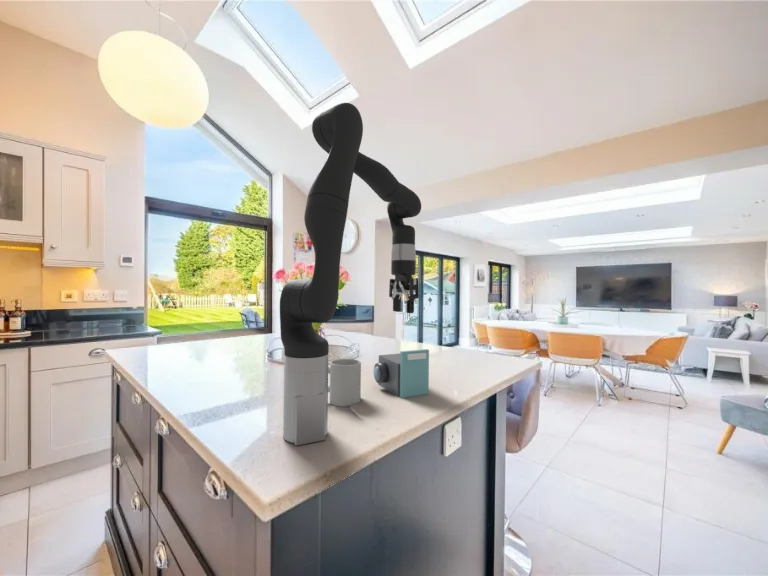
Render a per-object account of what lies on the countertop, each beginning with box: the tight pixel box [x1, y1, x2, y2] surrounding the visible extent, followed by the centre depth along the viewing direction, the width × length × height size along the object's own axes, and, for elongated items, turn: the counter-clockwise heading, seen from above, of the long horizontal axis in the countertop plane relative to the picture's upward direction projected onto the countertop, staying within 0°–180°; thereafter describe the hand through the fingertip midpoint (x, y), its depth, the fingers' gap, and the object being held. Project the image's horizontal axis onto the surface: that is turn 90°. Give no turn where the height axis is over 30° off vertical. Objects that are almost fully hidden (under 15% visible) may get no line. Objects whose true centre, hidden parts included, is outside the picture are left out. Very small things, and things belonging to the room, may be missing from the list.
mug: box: [328, 358, 362, 408], centre depth 92 cm, size 12×8×11 cm
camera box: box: [373, 353, 400, 397], centre depth 102 cm, size 13×13×11 cm
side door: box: [399, 348, 430, 399], centre depth 95 cm, size 2×9×13 cm, turn 116°
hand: (402, 312), depth 102 cm, fingers open, 8 cm apart
